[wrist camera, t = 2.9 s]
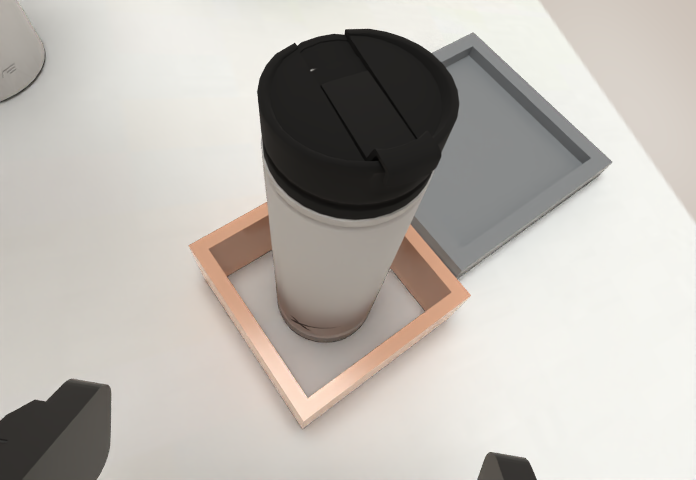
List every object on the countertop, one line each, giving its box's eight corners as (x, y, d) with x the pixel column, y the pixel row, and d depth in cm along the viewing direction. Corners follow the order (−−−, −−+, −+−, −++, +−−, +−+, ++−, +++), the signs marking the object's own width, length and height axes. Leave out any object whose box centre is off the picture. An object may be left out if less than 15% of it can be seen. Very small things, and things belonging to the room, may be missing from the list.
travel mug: (302, 364, 30) (312, 206, 12) (263, 273, 32) (222, 27, 14) (389, 324, 32) (513, 132, 14) (346, 240, 34) (403, -17, 16)
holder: (203, 277, 32) (188, 245, 27) (344, 194, 36) (351, 154, 31) (302, 429, 28) (303, 421, 24) (446, 319, 32) (470, 295, 28)
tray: (320, 125, 38) (322, 108, 36) (465, 50, 43) (473, 32, 42) (452, 281, 33) (461, 270, 32) (597, 176, 39) (612, 162, 37)
